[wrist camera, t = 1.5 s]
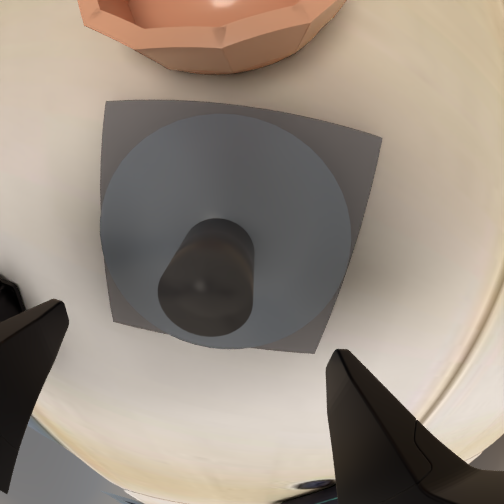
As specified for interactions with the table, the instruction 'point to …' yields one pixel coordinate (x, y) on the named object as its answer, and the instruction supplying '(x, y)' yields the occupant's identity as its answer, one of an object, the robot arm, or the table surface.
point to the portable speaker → (317, 497)
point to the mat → (304, 128)
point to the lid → (225, 231)
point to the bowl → (211, 30)
